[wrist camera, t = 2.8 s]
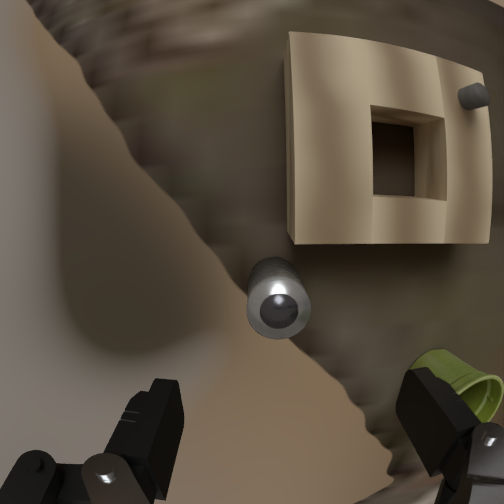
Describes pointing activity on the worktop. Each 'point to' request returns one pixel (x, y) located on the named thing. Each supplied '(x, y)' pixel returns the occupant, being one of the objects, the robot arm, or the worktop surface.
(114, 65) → the worktop surface
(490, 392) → the plant pot
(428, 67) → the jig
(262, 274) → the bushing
